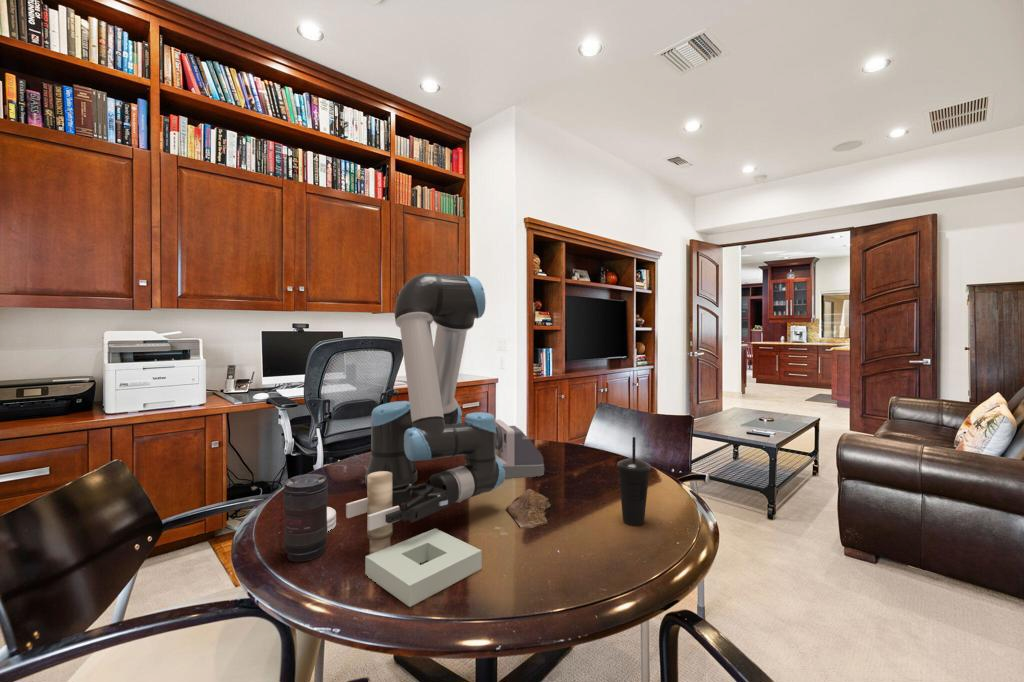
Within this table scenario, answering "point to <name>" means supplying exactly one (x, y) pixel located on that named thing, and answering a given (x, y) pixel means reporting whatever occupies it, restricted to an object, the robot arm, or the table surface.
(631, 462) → the drinking cup
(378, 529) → the leg
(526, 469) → the instant camera
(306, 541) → the camera lens
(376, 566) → the board
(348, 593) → the table surface
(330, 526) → the coaster
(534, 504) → the wooden fragment
